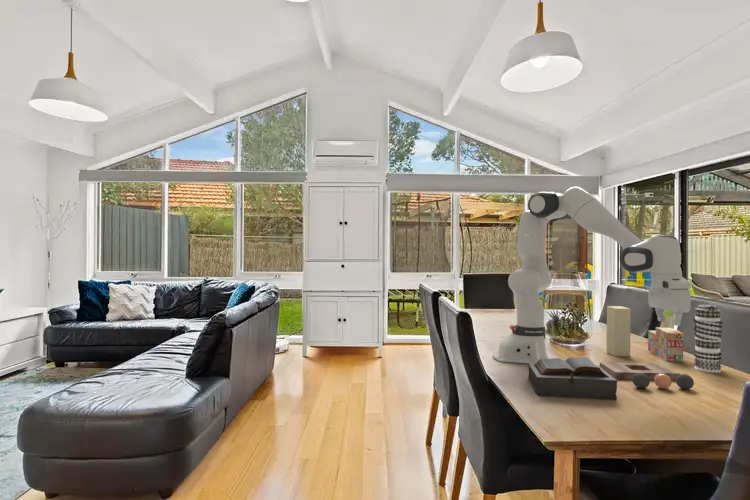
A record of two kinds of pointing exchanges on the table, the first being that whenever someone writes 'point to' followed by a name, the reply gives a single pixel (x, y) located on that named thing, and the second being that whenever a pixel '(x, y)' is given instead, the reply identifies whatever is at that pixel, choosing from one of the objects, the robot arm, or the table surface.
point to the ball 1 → (640, 380)
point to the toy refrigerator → (618, 330)
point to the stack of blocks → (666, 343)
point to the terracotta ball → (662, 381)
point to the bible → (571, 379)
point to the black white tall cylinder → (707, 338)
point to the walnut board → (637, 370)
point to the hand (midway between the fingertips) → (668, 323)
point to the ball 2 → (684, 381)
